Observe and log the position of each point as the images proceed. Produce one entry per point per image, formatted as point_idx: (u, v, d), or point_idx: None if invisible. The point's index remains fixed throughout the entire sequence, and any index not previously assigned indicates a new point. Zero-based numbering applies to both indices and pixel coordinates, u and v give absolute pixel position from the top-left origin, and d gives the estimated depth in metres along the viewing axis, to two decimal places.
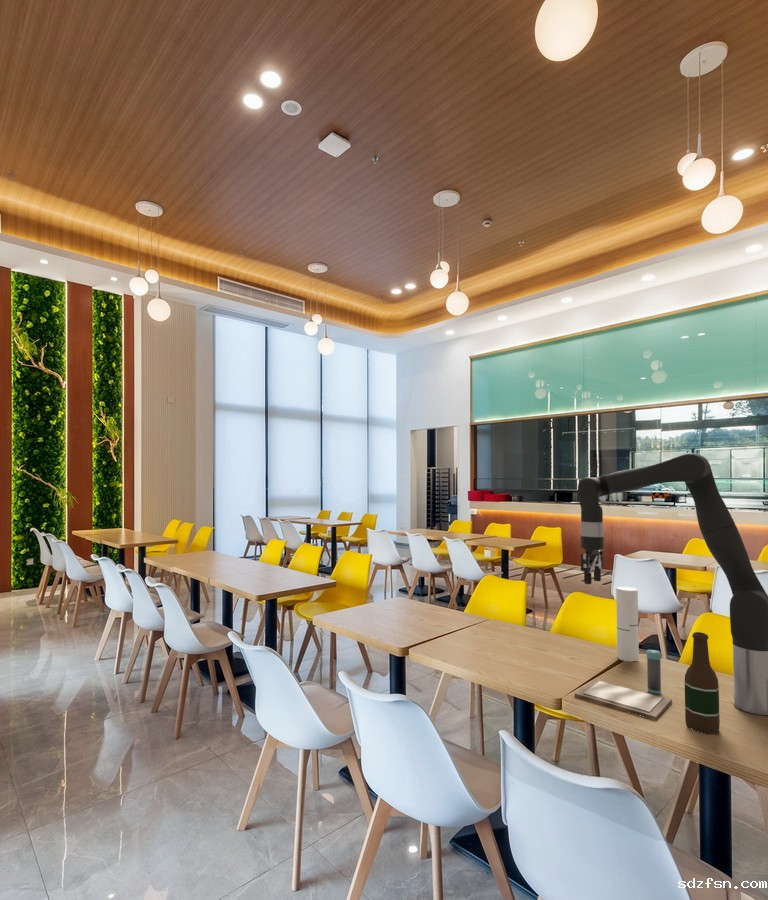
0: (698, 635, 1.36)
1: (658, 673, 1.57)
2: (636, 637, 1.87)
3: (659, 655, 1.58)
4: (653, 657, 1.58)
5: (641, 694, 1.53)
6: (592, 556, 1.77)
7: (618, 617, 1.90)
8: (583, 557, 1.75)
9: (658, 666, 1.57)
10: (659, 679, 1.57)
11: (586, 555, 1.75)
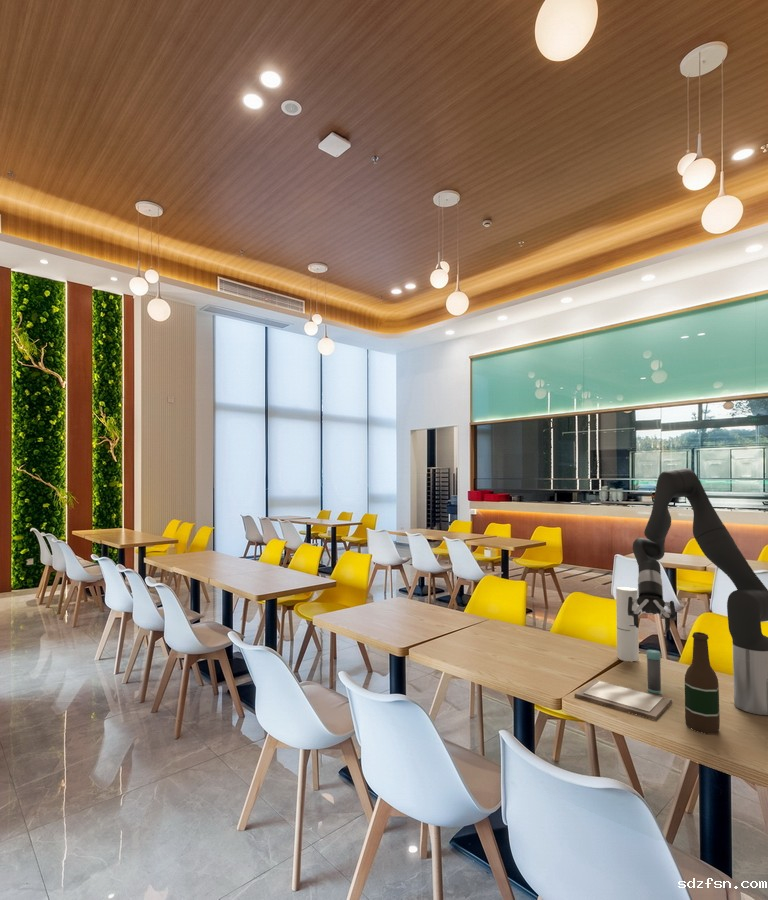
0: (698, 635, 1.36)
1: (658, 673, 1.57)
2: (636, 637, 1.87)
3: (659, 655, 1.58)
4: (653, 657, 1.58)
5: (641, 694, 1.53)
6: (641, 601, 1.77)
7: (618, 617, 1.90)
8: None
9: (658, 666, 1.57)
10: (659, 679, 1.57)
11: None
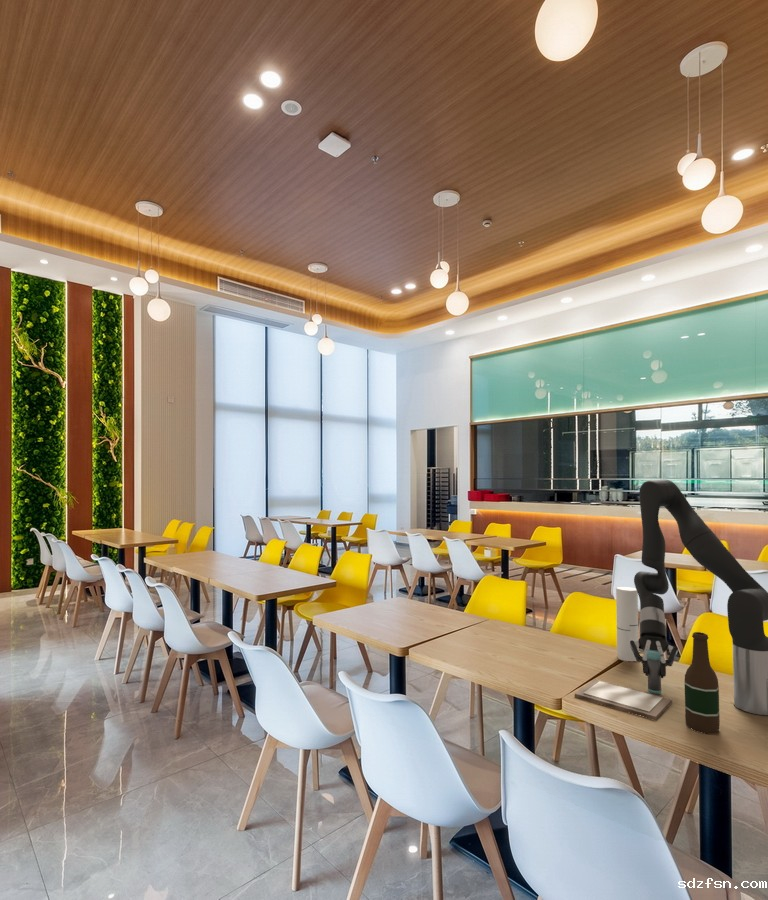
0: (698, 635, 1.36)
1: (658, 673, 1.57)
2: (636, 637, 1.87)
3: (659, 655, 1.58)
4: (653, 657, 1.57)
5: (641, 694, 1.53)
6: (643, 643, 1.64)
7: (618, 617, 1.90)
8: (631, 647, 1.66)
9: (658, 666, 1.57)
10: (659, 679, 1.57)
11: (630, 643, 1.66)
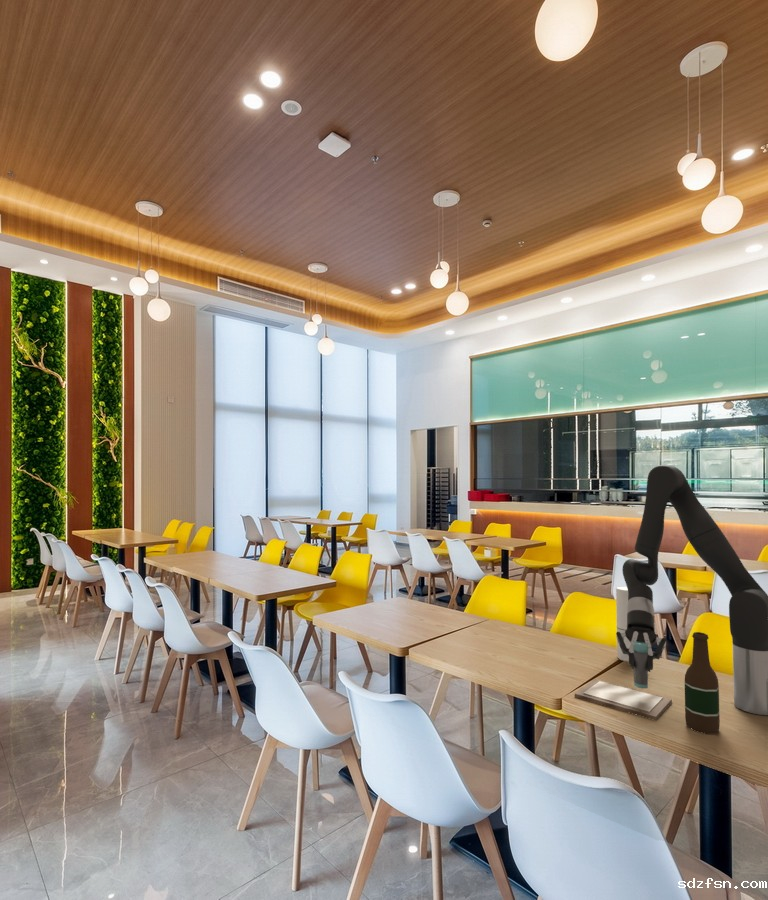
0: (698, 635, 1.36)
1: (645, 666, 1.49)
2: None
3: (646, 647, 1.49)
4: (640, 649, 1.49)
5: (641, 694, 1.53)
6: (630, 635, 1.56)
7: (618, 617, 1.90)
8: (617, 638, 1.57)
9: (645, 659, 1.49)
10: (646, 672, 1.49)
11: (616, 634, 1.57)
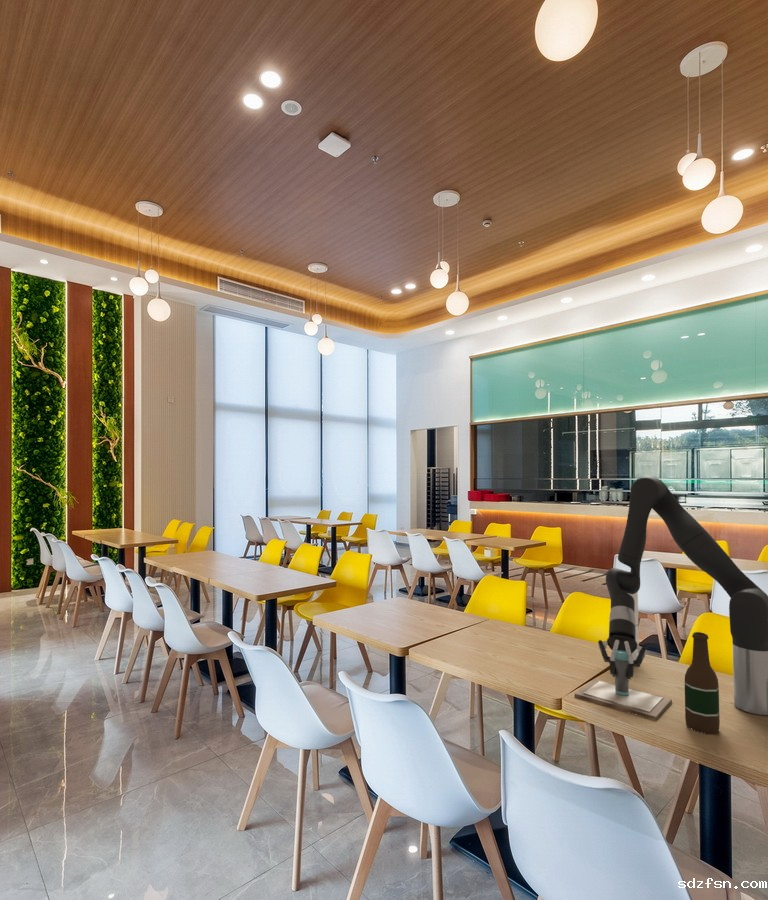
0: (698, 635, 1.36)
1: (626, 674, 1.52)
2: (636, 637, 1.87)
3: (627, 655, 1.53)
4: (620, 657, 1.53)
5: (641, 694, 1.53)
6: (611, 643, 1.59)
7: None
8: (599, 647, 1.61)
9: (626, 667, 1.52)
10: (627, 680, 1.52)
11: (598, 643, 1.61)
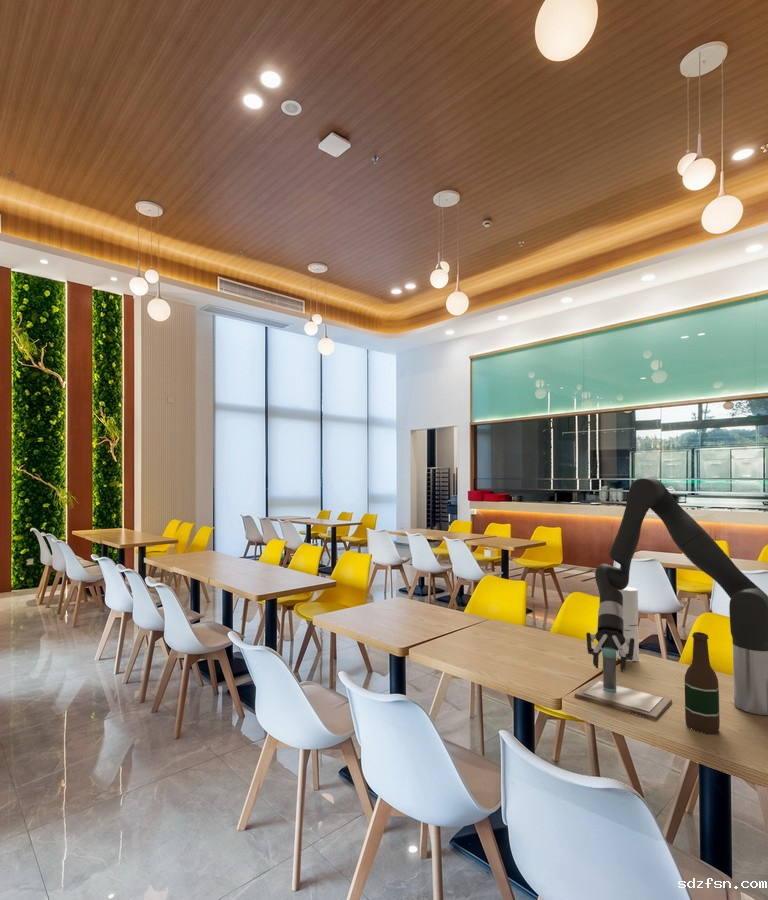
0: (698, 635, 1.36)
1: (613, 671, 1.54)
2: (636, 637, 1.87)
3: (614, 653, 1.55)
4: (608, 655, 1.55)
5: (641, 694, 1.53)
6: (600, 636, 1.62)
7: None
8: None
9: (613, 664, 1.55)
10: (614, 677, 1.55)
11: None
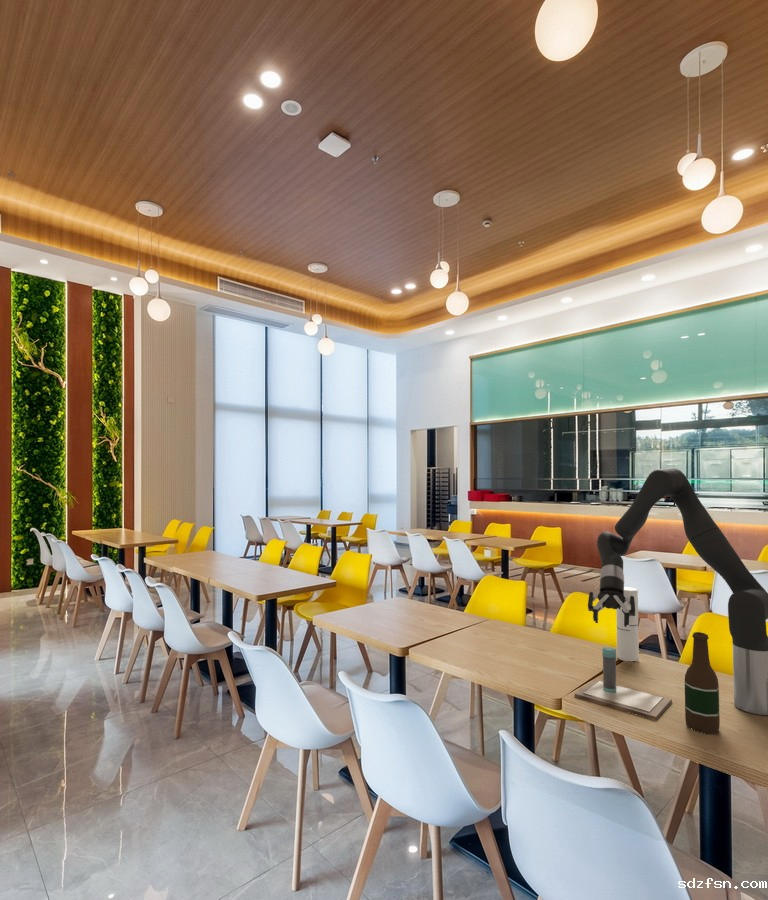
0: (698, 635, 1.36)
1: (613, 671, 1.55)
2: (636, 637, 1.87)
3: (614, 653, 1.55)
4: (608, 655, 1.55)
5: (641, 694, 1.53)
6: (602, 596, 1.74)
7: (618, 617, 1.90)
8: None
9: (613, 664, 1.55)
10: (614, 677, 1.55)
11: None
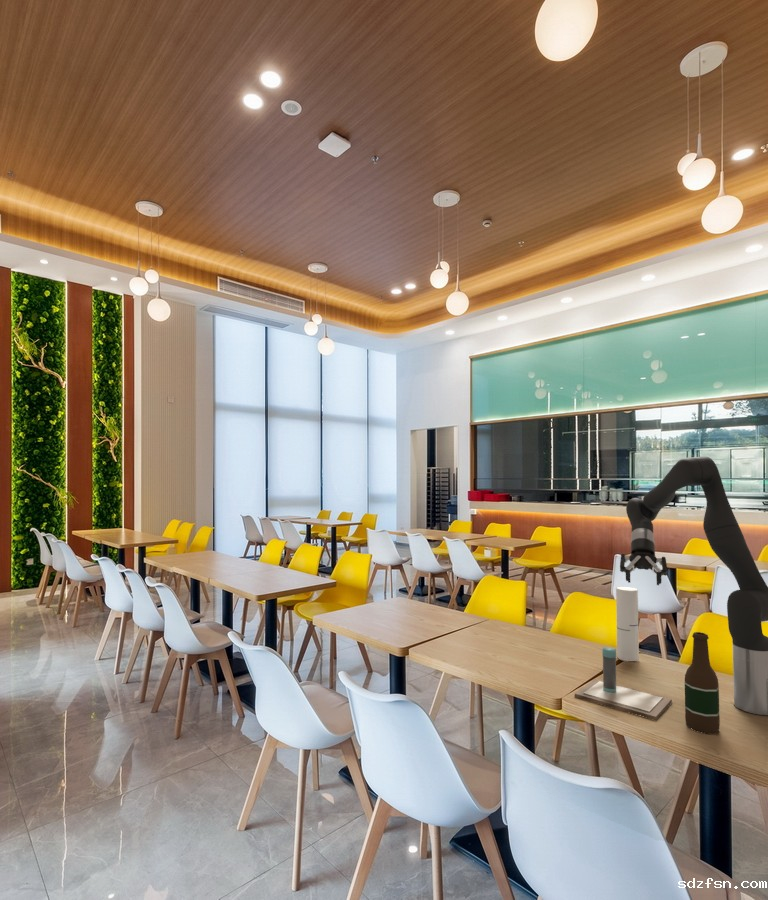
0: (698, 635, 1.36)
1: (613, 671, 1.55)
2: (636, 637, 1.87)
3: (614, 653, 1.55)
4: (608, 655, 1.55)
5: (641, 694, 1.53)
6: (633, 557, 1.79)
7: (618, 617, 1.90)
8: None
9: (613, 664, 1.55)
10: (614, 677, 1.55)
11: (621, 556, 1.81)
